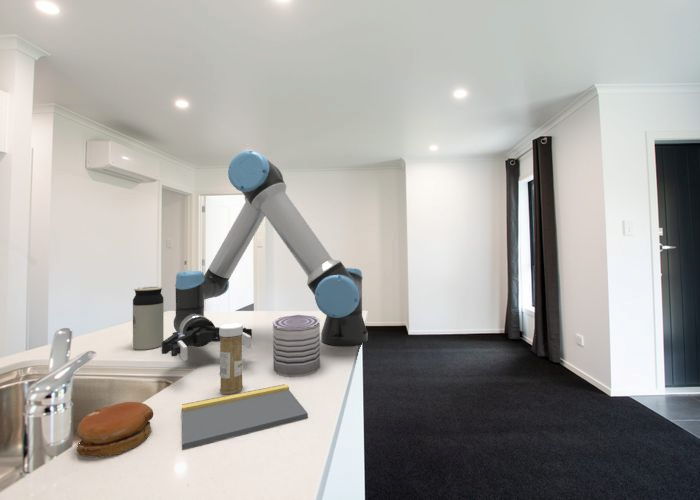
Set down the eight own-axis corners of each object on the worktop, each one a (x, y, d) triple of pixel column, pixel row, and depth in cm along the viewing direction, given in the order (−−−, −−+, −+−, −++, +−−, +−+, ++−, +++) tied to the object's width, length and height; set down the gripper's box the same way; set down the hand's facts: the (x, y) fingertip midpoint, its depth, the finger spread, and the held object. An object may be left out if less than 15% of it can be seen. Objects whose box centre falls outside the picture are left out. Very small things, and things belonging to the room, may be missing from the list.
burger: (142, 452, 46) (142, 419, 46) (62, 467, 43) (61, 432, 43) (159, 419, 56) (158, 392, 56) (93, 430, 53) (93, 401, 53)
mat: (284, 388, 68) (284, 381, 68) (307, 417, 55) (307, 409, 55) (182, 408, 59) (182, 400, 59) (182, 449, 47) (182, 439, 47)
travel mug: (165, 342, 104) (165, 286, 105) (160, 348, 97) (160, 288, 97) (136, 344, 101) (136, 287, 102) (129, 351, 94) (129, 289, 94)
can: (325, 362, 84) (325, 315, 84) (311, 379, 73) (311, 325, 73) (284, 359, 86) (284, 314, 86) (264, 375, 75) (264, 323, 75)
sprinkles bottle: (245, 391, 66) (245, 325, 66) (222, 397, 64) (222, 328, 64) (239, 384, 70) (239, 321, 70) (216, 389, 67) (216, 324, 67)
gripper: (243, 336, 96) (272, 354, 79) (143, 352, 81) (153, 378, 64) (243, 311, 96) (272, 323, 79) (143, 322, 81) (153, 340, 64)
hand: (219, 347), depth 71 cm, fingers open, 13 cm apart
